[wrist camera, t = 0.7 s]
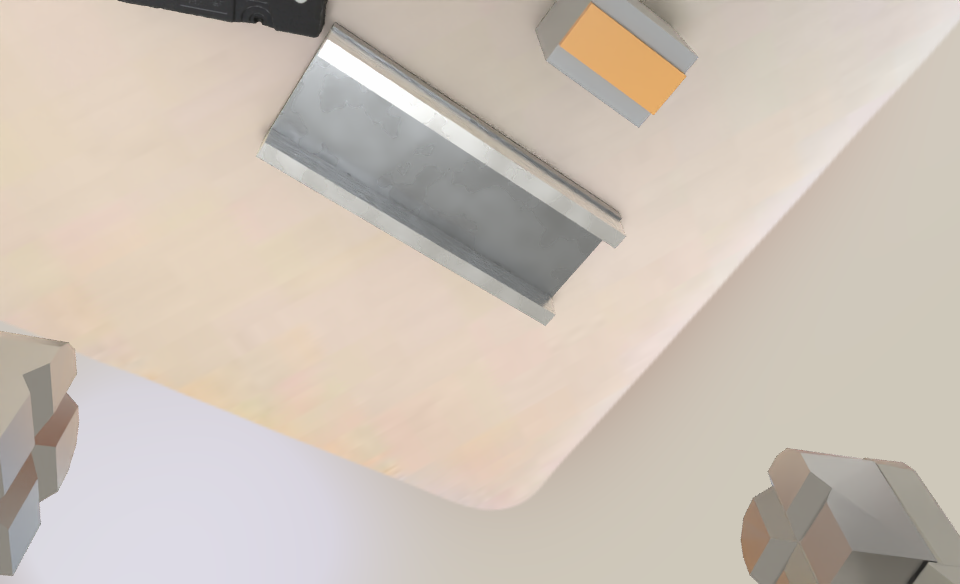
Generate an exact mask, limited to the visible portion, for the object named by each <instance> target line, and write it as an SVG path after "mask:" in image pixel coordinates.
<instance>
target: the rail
mask: <svg viewBox="0 0 960 584" xmlns="http://www.w3.org/2000/svg"><path fill="white" fill-rule="evenodd" d="M256 157H258V158H260V159H261V160H263V161H265V162H266V163H268V164H270V165H272V166H273V167H275V168H277V169H278V170H280V171H282V172H283V173H285V174H287V175H289V176H290V177H292V178H294V179H295V180H297V181H299V182H301V183H302V184H304V185H306V186H307V187H309V188H311V189H313V190H314V191H316V192H318V193H319V194H321V195H323V196H325V197H326V198H328V199H330V200H331V201H333V202H335V203H336V204H338V205H340V206H342V207H343V208H345V209H347V210H348V211H350V212H352V213H354V214H355V215H357V216H359V217H360V218H362V219H364V220H366V221H367V222H369V223H371V224H372V225H374V226H376V227H377V228H379V229H381V230H383V231H384V232H386V233H388V234H389V235H391V236H393V237H395V238H396V239H398V240H400V241H401V242H403V243H405V244H407V245H408V246H410V247H412V248H413V249H415V250H417V251H419V252H420V253H422V254H424V255H425V256H427V257H429V258H430V259H432V260H434V261H436V262H437V263H439V264H441V265H442V266H444V267H446V268H448V269H449V270H451V271H453V272H454V273H456V274H458V275H460V276H461V277H463V278H465V279H466V280H468V281H470V282H471V283H473V284H475V285H477V286H478V287H480V288H482V289H483V290H485V291H487V292H489V293H490V294H492V295H494V296H495V297H497V298H499V299H501V300H502V301H504V302H506V303H507V304H509V305H511V306H513V307H514V308H516V309H518V310H519V311H521V312H523V313H524V314H526V315H528V316H530V317H531V318H533V319H535V320H536V321H538V322H540V323H542V324H543V325H545V326H546V325H547V324H548V322H549V321H550V320H551V319H552V318H553V317H554V316H555V310H554V306H553V301H552V296H553V295H554V294H555V293H556V292H557V291H558V290H559V289H560V287H561V286H562V285H563V284H564V283H565V282H566V281H567V280H568V278H569V277H570V276H571V275H572V274H573V273H574V272H575V271H576V269H577V268H578V267H579V266H580V265H581V264H582V263H583V262H584V260H585V259H586V258H587V257H588V256H589V255H590V254H591V253H592V251H593V250H594V249H595V248H596V247H597V246H598V245H599V243H600V242H601V241H602V240H603V241H604V242H606V243H607V244H609V245H611V246H612V247H614V248H616V247H617V246H618V245H619V244H620V243H621V241H622V240H623V239H624V238H625V237H626V234H625V232H624V229H623V227H622V224H621V222H620V220H621V219H622V218H621V216H620V213H619V212H618V211H616V210H615V209H613V208H612V207H610V206H609V205H607V204H606V203H604V202H603V201H601V200H600V199H598V198H597V197H595V196H594V195H592V194H591V193H589V192H588V191H586V190H585V189H583V188H582V187H580V186H579V185H577V184H576V183H574V182H573V181H571V180H570V179H568V178H567V177H565V176H564V175H562V174H561V173H559V172H558V171H556V170H555V169H553V168H552V167H550V166H549V165H547V164H546V163H544V162H543V161H542V160H540V159H539V158H537V157H536V156H534V155H533V154H531V153H530V152H528V151H527V150H525V149H524V148H522V147H521V146H519V145H518V144H516V143H515V142H513V141H512V140H510V139H509V138H507V137H506V136H504V135H503V134H501V133H500V132H498V131H497V130H495V129H494V128H492V127H491V126H489V125H488V124H486V123H485V122H483V121H482V120H480V119H479V118H477V117H476V116H474V115H473V114H471V113H470V112H468V111H467V110H465V109H464V108H462V107H461V106H459V105H458V104H456V103H455V102H453V101H452V100H450V99H449V98H447V97H446V96H444V95H443V94H441V93H440V92H438V91H437V90H435V89H434V88H433V87H431V86H430V85H428V84H427V83H425V82H424V81H422V80H421V79H419V78H418V77H416V76H415V75H413V74H412V73H410V72H409V71H407V70H406V69H404V68H403V67H401V66H400V65H398V64H397V63H395V62H394V61H392V60H391V59H389V58H388V57H386V56H385V55H383V54H382V53H380V52H379V51H377V50H376V49H374V48H373V47H371V46H370V45H368V44H367V43H365V42H364V41H362V40H361V39H359V38H358V37H356V36H355V35H353V34H352V33H350V32H349V31H347V30H346V29H344V28H343V27H341V26H340V25H338V24H337V23H334V25H333V27H332V28H331V30H330V31H329V33H328V35H327V36H326V38H325V40H324V41H323V43H322V45H321V46H320V48H319V49H318V51H317V53H316V54H315V56H314V58H313V59H312V61H311V63H310V64H309V66H308V67H307V69H306V71H305V72H304V74H303V76H302V77H301V79H300V81H299V82H298V84H297V86H296V87H295V89H294V90H293V92H292V94H291V95H290V97H289V99H288V100H287V102H286V104H285V105H284V107H283V108H282V110H281V112H280V113H279V115H278V117H277V118H276V120H275V122H274V123H273V125H272V126H271V128H270V130H269V131H268V133H267V135H266V136H265V138H264V140H263V142H262V145H261V147H260V149H259V151H258V153H257V155H256Z"/></svg>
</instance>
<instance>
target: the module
mask: <svg viewBox="0 0 960 584" xmlns="http://www.w3.org/2000/svg"><path fill="white" fill-rule="evenodd" d="M535 31H536V34H537V37H538V39H539V42H540V45H541V48H542V51H543V54H544V56H545V59H546V61H547V62H548V63H550V64H551V65H553V66H554V67H555V68H557V69H558V70H560V71H561V72H562V73H564V74H565V75H566V76H568V77H569V78H571V79H572V80H573V81H575V82H576V83H578V84H579V85H580V86H582V87H583V88H584V89H586V90H587V91H589V92H590V93H591V94H593V95H594V96H595V97H597V98H598V99H600V100H601V101H602V102H604V103H605V104H607V105H608V106H609V107H611V108H612V109H613V110H615V111H616V112H618V113H619V114H620V115H622V116H623V117H625V118H626V119H627V120H629V121H630V122H631V123H633V124H634V125H636V126H637V127H638V128H639V127H640V126H641V124H642V123H643V122H644V121H645V120H646V119H647V117H648V116H649V115H650V114H653V115H654V114H655V113H656V112H657V110H658V109H659V108H660V107H661V106H662V105H663V103H664V102H665V101H666V100H667V99H668V98H669V96H670V95H671V94H672V93H673V92H674V90H675V89H676V88H677V87H678V86H679V85H680V83H681V82H682V81H683V80H684V79H685V77H686V75H685V73H686V71H687V70H688V69H689V68H690V67H691V65H692V64H693V63H694V62H695V61H696V60H697V58H698V56H697V55H696V54H695V53H694V51H693V50H692V49H691V48H690V47H689V46H688V45H687V43H686V42H685V41H684V40H683V39H682V38H681V37H680V35H679V34H678V33H677V32H676V31H675V30H674V29H673V27H672V26H670V25H669V24H668V23H667V22H665V21H664V20H663V19H662V18H660V17H659V16H658V15H657V14H655V13H654V12H653V11H651V10H650V9H649V8H648V7H646V6H645V5H644V4H643V3H641V2H640V1H639V0H557V1H556V2H555V3H554V5H553V6H552V7H551V9H550V10H549V12H548V13H547V14H546V16H545V17H544V18H543V20H542V21H541V22H540V24H539V25H538V26H537V28H536V29H535Z"/></svg>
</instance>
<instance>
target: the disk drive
mask: <svg viewBox="0 0 960 584" xmlns="http://www.w3.org/2000/svg"><path fill="white" fill-rule="evenodd" d="M118 1H122V2H126V3H130V4H137V5H143V6H149V7H153V8H163V9H166V10H171V11H177V12H181V13H186V14H193V15H196V16H203V17H206V18H213V19H217V20H222V21H227V22H246V23H257V22H262V25H265V26H269V27H272V28H274V29H275V30H276V31H282V32H289V33H293V34H299V35H304V36H309V37H318V36H319V34H320V32H321V31H322V28H323V25H324V17H325V9H326V3H327V0H118Z"/></svg>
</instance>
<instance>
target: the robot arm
mask: <svg viewBox="0 0 960 584" xmlns="http://www.w3.org/2000/svg"><path fill="white" fill-rule="evenodd" d="M76 375H77V369H76V357H75V349H74V348H73V347H72V346H71V345H70V343H69V342H63V341H57V340H51V339H45V338H39V337H33V336H27V335H21V334H15V333H9V332H3V331H0V575H8V576H13V575H14V573H15V571H16V569H17V567H18V566H19V563H20V562H21V560H22V558H23V556H24V554H25V552H26V551H27V549H28V547H29V545H30V543H31V541H32V539H33V537H34V536H35V534H36V532H37V530H38V528H39V526H40V524H41V523H40V522H41V521H40V506H39V502H41V501H42V500H44V499H46V498H47V497H49V496H51V495H52V494H54V493H56V492H58V490H59V488H60V486H61V484H62V482H63V480H64V478H65V476H66V474H67V472H68V470H69V467H70V463H71V460H72V457H73V453H74V450H75V446H76V442H77V434H78V433H77V432H78V425H79V415H78V405H77V404H76V403H75V402H74V401H73V399H72V398H71V397H70V396H69V395H68V394H67V390H68V388H69V387H70V385H71V383H72V381H73V379H74V378H75V376H76ZM768 473H769V477H770V480H771V484H772V486H771V487H770V488H768V489H767V490H765V491H764V492H762V493H760V494H758V495H757V496H755V497H754V498H753V499H752V501H751V503H750V505H749V507H748V509H747V511H746V513H745V516H744V518H743V525H742V534H741V545H742V552H743V558H744V561H745V563H746V566H747V569H748V572H749V574H750V576H751V577H752V578H754V579H755V580H756V581H757V582H758V583H759V584H960V536H959V534H958V533H957V531H956V530H955V528H954V527H953V525H952V524H951V522H950V521H949V519H948V518H947V517H946V515H945V514H944V512H943V511H942V509H941V508H940V506H939V505H938V503H937V502H936V500H935V499H934V497H933V496H932V494H931V493H930V492H929V490H928V489H927V487H926V486H925V484H924V483H923V481H922V480H921V478H920V477H919V476H918V474H917V473H916V471H915V470H914V469H912V468H910V467H909V466H908V465H906V464H905V463H903V462H894V461H887V460H879V459H870V458H863V459H860V458H855V457H847V456H840V455H833V454H825V453H819V452H812V451H804V450H798V449H790V448H786V449H785V450H784V451H782V452H781V453H780V454H779V455H777V456H776V458H775V460H774V461H773V463H772V465H771V467H770V468H769V470H768Z"/></svg>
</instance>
